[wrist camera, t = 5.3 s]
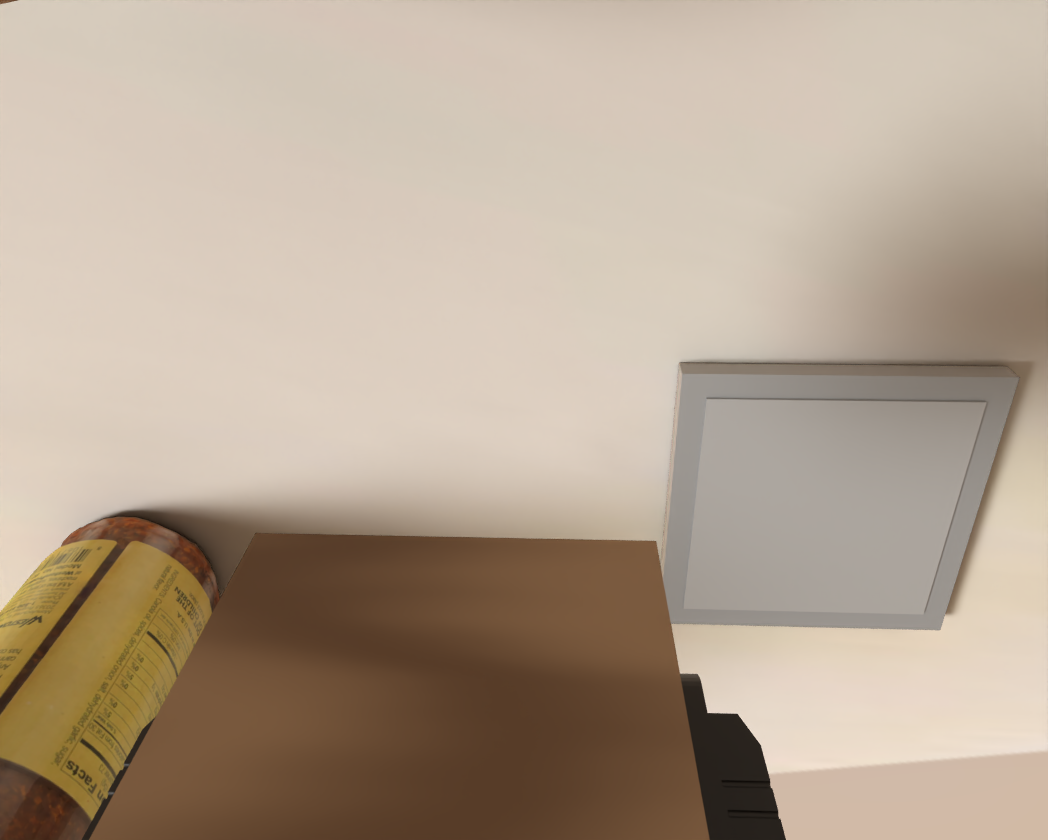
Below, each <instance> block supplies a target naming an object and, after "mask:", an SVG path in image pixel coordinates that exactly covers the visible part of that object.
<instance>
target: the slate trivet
mask: <svg viewBox="0 0 1048 840" xmlns="http://www.w3.org/2000/svg"><path fill="white" fill-rule="evenodd" d="M1019 378H1020V377H1019V376H1017V375H1016V374H1015V373H1014V372H1013V371H1012V370H1010V369H1009V368H1008V367H1007V366H925V365H828V364H730V363H679V368H678V379H677V391H676V402H675V413H674V424H673V435H672V446H671V457H670V468H669V479H668V490H667V501H666V512H665V523H664V534H663V545H662V556H661V572H662V577H663V583H664V588H665V594H666V599H667V605H668V611H669V616H670V622H671V624H709V625H749V626H790V627H830V628H870V629H910V630H940V629H941V626H942V623H943V619H944V616H945V613H946V610H947V607H948V604H949V600H950V597H951V594H952V591H953V588H954V585H955V581H956V578H957V575H958V572H959V569H960V565H961V562H962V559H963V556H964V553H965V550H966V546H967V543H968V540H969V537H970V534H971V531H972V527H973V524H974V521H975V518H976V515H977V512H978V508H979V505H980V502H981V499H982V496H983V492H984V489H985V486H986V483H987V480H988V477H989V473H990V470H991V467H992V464H993V461H994V458H995V454H996V451H997V448H998V445H999V442H1000V439H1001V435H1002V432H1003V429H1004V426H1005V423H1006V420H1007V416H1008V413H1009V410H1010V407H1011V404H1012V400H1013V397H1014V394H1015V391H1016V388H1017V385H1018V381H1019Z"/></svg>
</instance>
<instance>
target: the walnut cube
mask: <svg viewBox="0 0 1048 840" xmlns="http://www.w3.org/2000/svg"><path fill="white" fill-rule="evenodd" d="M89 840H710V839H709V834H708V828H707V823H706V817H705V811H704V806H703V800H702V795H701V789H700V784H699V778H698V772H697V767H696V761H695V756H694V750H693V744H692V739H691V733H690V728H689V722H688V717H687V711H686V705H685V700H684V694H683V689H682V683H681V678H680V672H679V666H678V661H677V655H676V650H675V644H674V638H673V633H672V627H671V622H670V616H669V611H668V605H667V599H666V594H665V588H664V583H663V577H662V572H661V566H660V560H659V555H658V549H657V544H656V541H626V540H575V539H525V538H474V537H423V536H373V535H322V534H272V533H255V535H254V537H253V539H252V541H251V543H250V544H249V546H248V548H247V550H246V552H245V554H244V555H243V557H242V559H241V561H240V563H239V565H238V567H237V568H236V570H235V572H234V574H233V576H232V578H231V579H230V581H229V583H228V585H227V587H226V589H225V590H224V592H223V594H222V596H221V598H220V600H219V601H218V603H217V605H216V607H215V609H214V611H213V613H212V614H211V616H210V618H209V620H208V622H207V624H206V625H205V627H204V629H203V631H202V633H201V635H200V636H199V638H198V640H197V642H196V644H195V646H194V647H193V649H192V651H191V653H190V655H189V657H188V659H187V660H186V662H185V664H184V666H183V668H182V670H181V671H180V673H179V675H178V677H177V679H176V681H175V682H174V684H173V686H172V688H171V690H170V692H169V693H168V695H167V697H166V699H165V701H164V703H163V705H162V706H161V708H160V710H159V712H158V714H157V716H156V717H155V719H154V721H153V723H152V725H151V727H150V728H149V730H148V732H147V734H146V736H145V738H144V739H143V741H142V743H141V745H140V747H139V749H138V751H137V752H136V754H135V756H134V758H133V760H132V762H131V763H130V765H129V767H128V769H127V771H126V773H125V774H124V776H123V778H122V780H121V782H120V784H119V785H118V787H117V789H116V791H115V793H114V795H113V797H112V798H111V800H110V802H109V804H108V806H107V808H106V809H105V811H104V813H103V815H102V817H101V819H100V820H99V822H98V824H97V826H96V828H95V830H94V831H93V833H92V835H91V837H90V839H89Z"/></svg>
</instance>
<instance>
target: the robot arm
mask: <svg viewBox="0 0 1048 840" xmlns="http://www.w3.org/2000/svg"><path fill="white" fill-rule="evenodd" d="M680 678H681V683H682V689H683V694H684V700H685V705H686V711H687V717H688V722H689V728H690V733H691V739H692V744H693V750H694V756H695V761H696V767H697V772H698V778H699V784H700V789H701V795H702V800H703V806H704V811H705V817H706V823H707V828H708V834H709V839H710V840H786V838H785V835H784V831H783V827H782V823H781V820H780V819H779V817H778V809H777V805H776V801H775V797H774V793H773V790H772V788H771V787H770V778H769V775H768V771H767V767H766V763H765V760H764V756H763V752H762V748H761V745H760V744H759V742H758V741H757V740H756V738H755V737H754V736H753V734H752V733H751V732H750V730H749V729H748V728H747V726H746V725H745V723H744V722H743V721H742V719H741V718H740V717H739V715H738V714H720V713H707V709H706V704H705V699H704V694H703V689H702V685H701V681H700V678H699V676H698V674H680ZM154 719H155V718H154ZM154 719H153V720H152V721H150V722H149V723H148V724H147V725H146V726H145V727H144V728H143V729H142V731H141V733H140V735H139V736H138V738H137V740H136V742H135V744H134V745H133V747H132V749H131V751H130V753H129V755H128V756H127V758H126V760H125V762H124V768H123V770H120V771H119V773H118V774H117V776H116V778H115V780H114V782H113V783H112V785H111V787H110V789H109V791H108V797H107V799H104V800H103V802H102V803H101V805H100V807H99V809H98V811H97V812H96V814H95V816H94V818H93V820H92V821H91V823H90V825H89V827H88V829H87V831H86V832H85V834H84V836H83V838H82V840H89V839H90V837H91V835H92V833H93V831H94V830H95V828H96V826H97V824H98V822H99V820H100V819H101V817H102V815H103V813H104V811H105V809H106V808H107V806H108V804H109V802H110V800H111V798H112V797H113V795H114V793H115V791H116V789H117V787H118V785H119V784H120V782H121V780H122V778H123V776H124V774H125V773H126V771H127V769H128V767H129V765H130V763H131V762H132V760H133V758H134V756H135V754H136V752H137V751H138V749H139V747H140V745H141V743H142V741H143V739H144V738H145V736H146V734H147V732H148V730H149V728H150V727H151V725H152V723H153V721H154Z"/></svg>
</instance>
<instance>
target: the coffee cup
mask: <svg viewBox="0 0 1048 840" xmlns="http://www.w3.org/2000/svg"><path fill="white" fill-rule="evenodd" d="M12 1H17V0H0V4H3V3H8V2H12Z"/></svg>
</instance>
